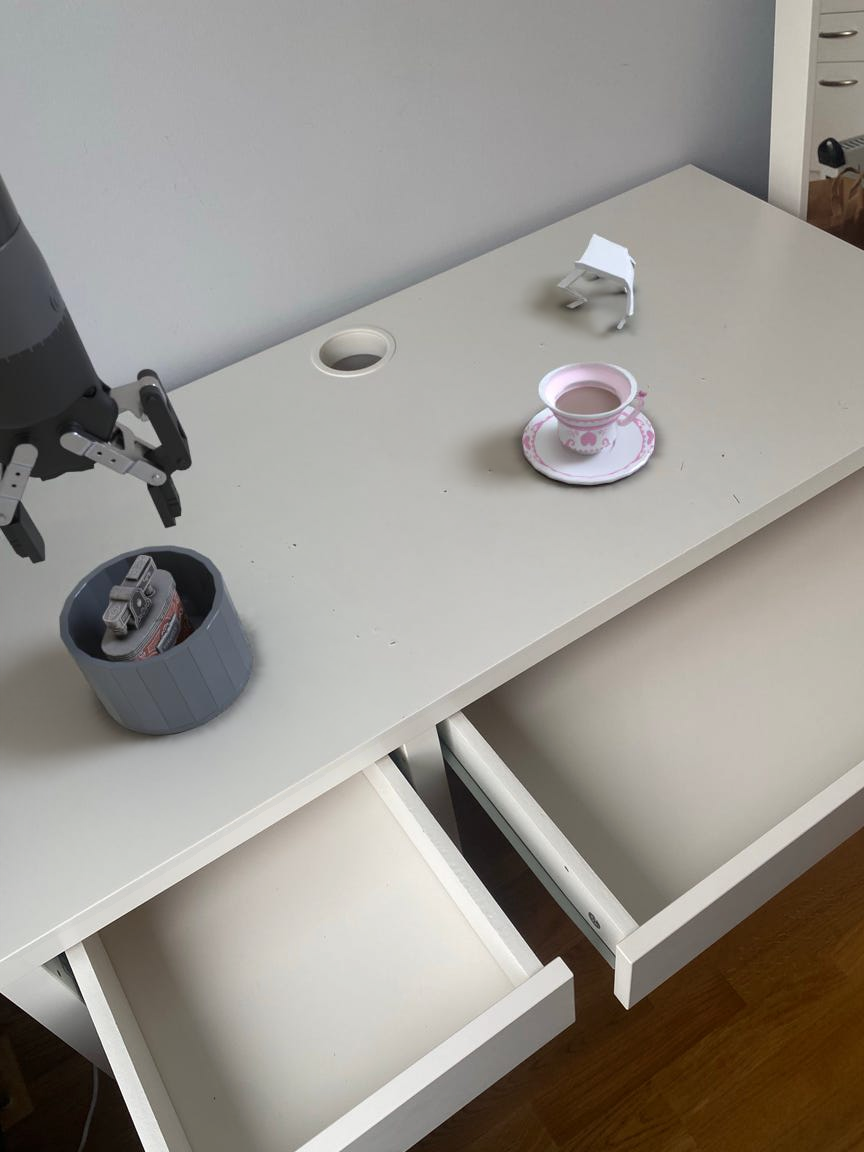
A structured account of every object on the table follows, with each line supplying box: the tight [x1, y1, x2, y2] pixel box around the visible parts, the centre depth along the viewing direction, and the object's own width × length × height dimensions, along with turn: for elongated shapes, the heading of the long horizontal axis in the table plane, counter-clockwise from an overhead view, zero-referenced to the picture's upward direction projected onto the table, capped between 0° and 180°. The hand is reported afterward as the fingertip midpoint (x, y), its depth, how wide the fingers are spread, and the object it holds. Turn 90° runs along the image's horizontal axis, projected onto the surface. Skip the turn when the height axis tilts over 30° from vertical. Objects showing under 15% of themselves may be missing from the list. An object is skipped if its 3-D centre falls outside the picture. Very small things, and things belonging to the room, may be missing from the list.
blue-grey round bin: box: [58, 544, 253, 736], centre depth 72 cm, size 12×12×8 cm
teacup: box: [521, 361, 656, 486], centre depth 86 cm, size 12×12×6 cm
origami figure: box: [556, 233, 637, 330], centre depth 100 cm, size 12×8×5 cm
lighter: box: [101, 555, 196, 662], centre depth 70 cm, size 8×3×10 cm, turn 168°
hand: (105, 536), depth 64 cm, fingers open, 8 cm apart
